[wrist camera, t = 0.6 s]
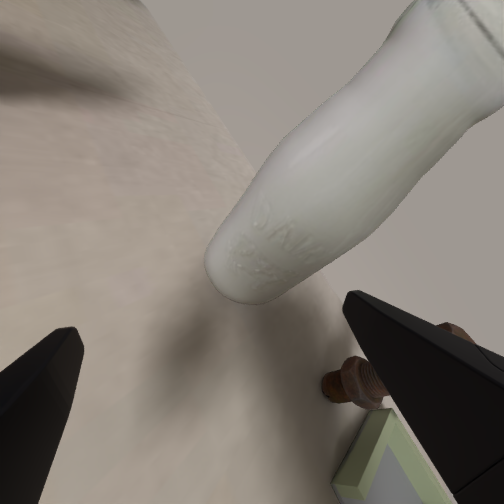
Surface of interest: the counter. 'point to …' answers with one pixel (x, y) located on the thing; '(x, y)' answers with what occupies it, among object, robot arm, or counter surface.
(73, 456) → the counter surface
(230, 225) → the glass bottle
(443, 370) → the robot arm
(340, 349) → the counter surface
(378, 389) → the bolt
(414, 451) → the green square tray
